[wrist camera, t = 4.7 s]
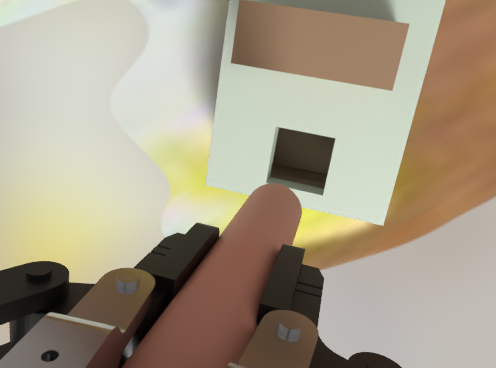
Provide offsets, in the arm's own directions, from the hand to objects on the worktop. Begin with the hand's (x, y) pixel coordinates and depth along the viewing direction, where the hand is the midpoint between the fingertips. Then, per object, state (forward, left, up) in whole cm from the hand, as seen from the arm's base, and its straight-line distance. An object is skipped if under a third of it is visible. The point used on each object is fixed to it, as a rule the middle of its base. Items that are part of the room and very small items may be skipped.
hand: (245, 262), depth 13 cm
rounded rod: (0, 0, -5) cm, 5 cm away
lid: (-4, 0, -16) cm, 16 cm away
